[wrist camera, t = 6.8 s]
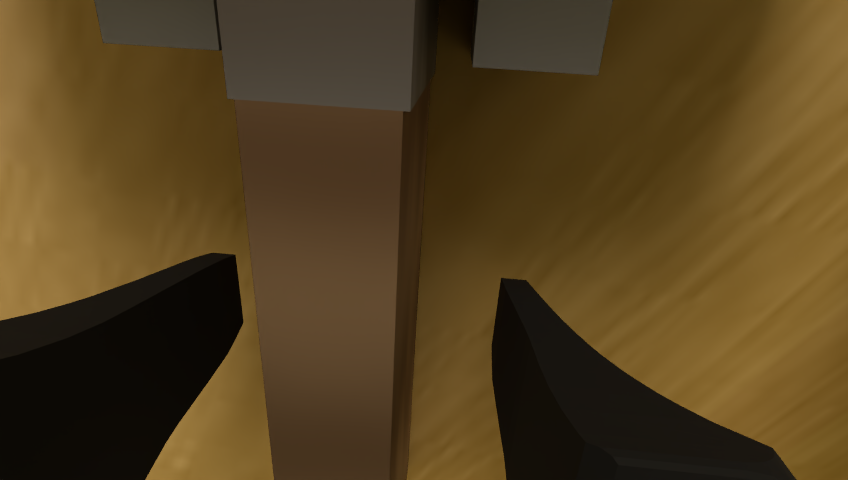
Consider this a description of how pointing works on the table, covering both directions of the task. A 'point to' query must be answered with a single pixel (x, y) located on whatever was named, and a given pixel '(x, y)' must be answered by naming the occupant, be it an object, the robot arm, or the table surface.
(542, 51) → the cream rectangular block
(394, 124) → the rail
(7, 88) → the table surface
